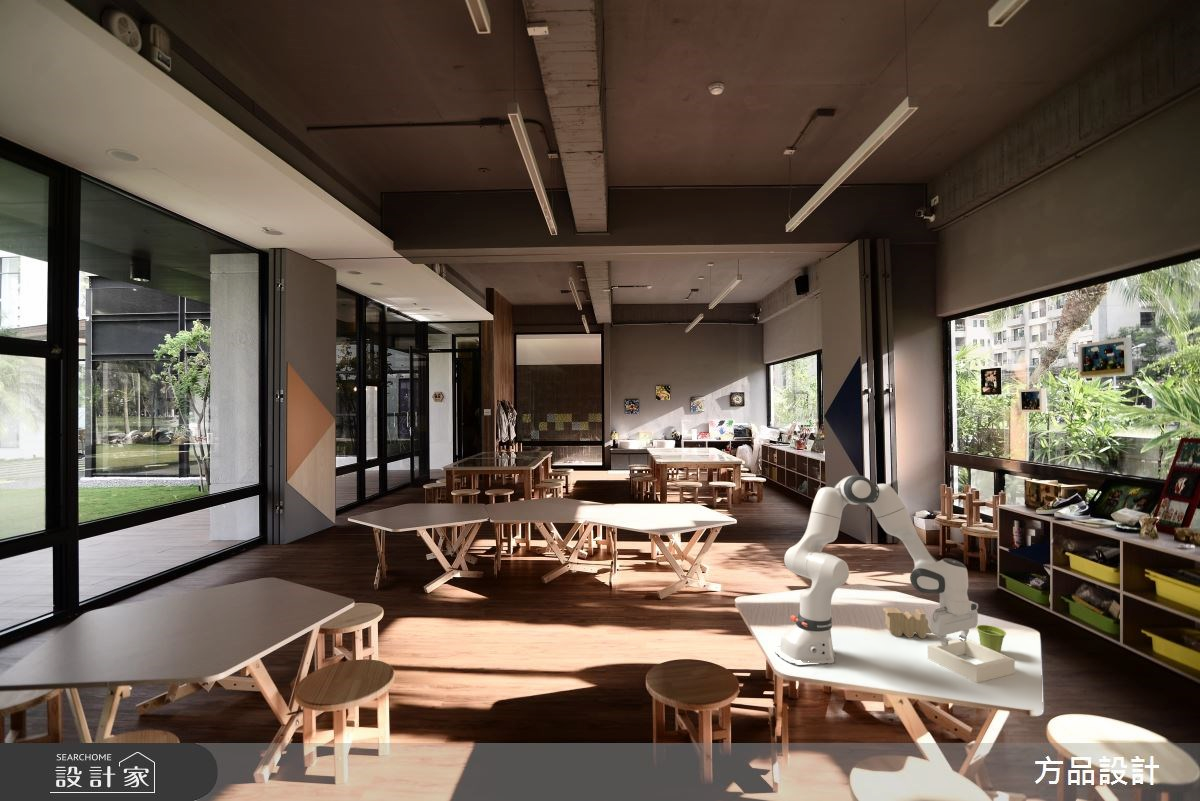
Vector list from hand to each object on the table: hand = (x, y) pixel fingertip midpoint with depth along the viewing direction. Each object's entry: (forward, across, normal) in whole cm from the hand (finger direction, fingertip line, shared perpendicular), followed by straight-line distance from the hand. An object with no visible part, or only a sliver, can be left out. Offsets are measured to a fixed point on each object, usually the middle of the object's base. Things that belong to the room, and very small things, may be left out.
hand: (953, 642), depth 206 cm
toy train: (+10, +9, +27) cm, 30 cm away
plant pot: (+10, +25, +4) cm, 28 cm away
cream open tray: (+9, +7, -1) cm, 12 cm away
